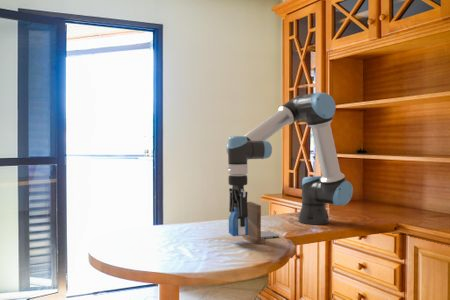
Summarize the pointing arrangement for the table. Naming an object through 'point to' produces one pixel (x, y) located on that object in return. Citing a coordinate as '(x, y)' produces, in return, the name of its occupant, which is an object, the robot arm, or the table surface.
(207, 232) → the table surface
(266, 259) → the table surface
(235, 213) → the perfume bottle
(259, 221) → the walnut screen
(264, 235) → the slate tile
